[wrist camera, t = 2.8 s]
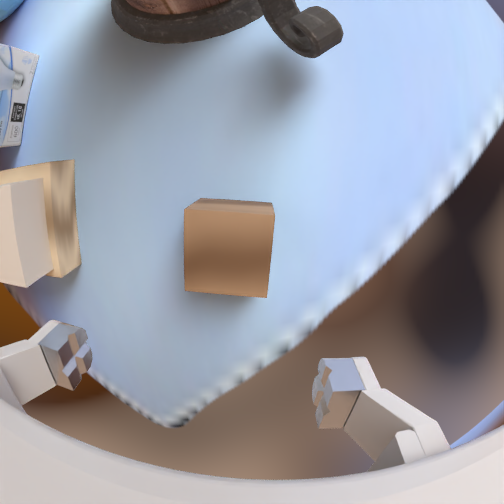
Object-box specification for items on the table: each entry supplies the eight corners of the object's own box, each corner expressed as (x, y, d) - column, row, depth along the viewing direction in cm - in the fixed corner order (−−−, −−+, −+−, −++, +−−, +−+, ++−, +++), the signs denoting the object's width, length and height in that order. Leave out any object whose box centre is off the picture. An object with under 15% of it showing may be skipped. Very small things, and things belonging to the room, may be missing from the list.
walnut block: (200, 198, 21) (184, 209, 17) (271, 202, 21) (274, 215, 17) (199, 263, 23) (184, 290, 18) (265, 269, 23) (266, 297, 18)
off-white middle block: (-5, 185, 17) (-33, 193, 13) (43, 177, 17) (10, 184, 13) (5, 262, 20) (-20, 277, 16) (53, 268, 20) (26, 287, 16)
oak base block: (15, 168, 21) (-10, 173, 17) (77, 159, 21) (50, 161, 17) (23, 254, 24) (1, 267, 20) (84, 262, 24) (61, 277, 20)
